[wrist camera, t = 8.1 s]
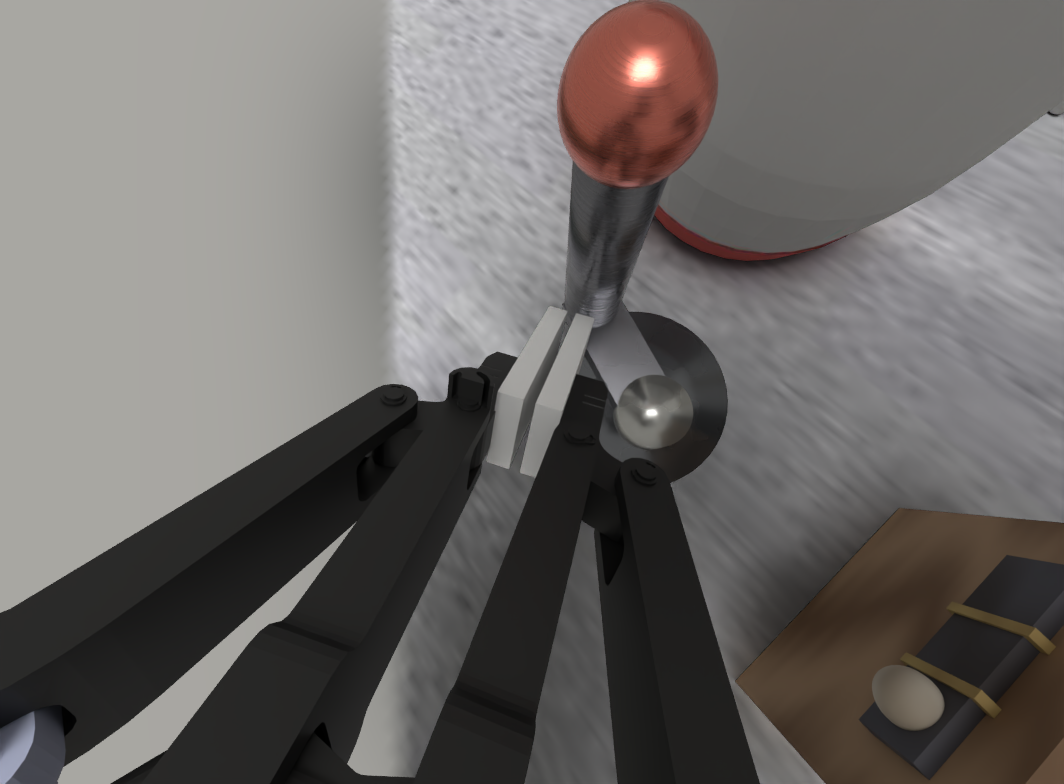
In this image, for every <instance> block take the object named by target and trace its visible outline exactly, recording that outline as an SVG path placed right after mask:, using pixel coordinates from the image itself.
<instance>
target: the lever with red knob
mask: <svg viewBox="0 0 1064 784" xmlns="http://www.w3.org/2000/svg"><path fill="white" fill-rule="evenodd" d="M717 96H718V69H717V62H716V58H715V54H714V51H713V48H712V45H711V43H710V40H709V38H708V36H707V35H706V33H705V32H704V30H703V29H702V27H701V25H700V24H699V23H698V22H697V21H696V20H695V19H694V18H693V17H692V16H691V15H690V14H688V13H687V12H686V11H684V10H683V9H681V8H680V7H678V6H676V5H674V4H671V3H668V2H665V1H660V0H637V1H632V2H628V3H625V4H623V5H620V6H618V7H615V8H613V9H612V10H610V11H608V12H607V13H605V14H604V15H602V16H601V17H600V18H598V19H597V20H596V21H595V22H594V23H593V24H591V25H590V27H589V28H588V29H587V30H586V31H585V32H584V34H583V35H582V36H581V37H580V38H579V40H578V41H577V43H576V44H575V46H574V48H573V49H572V51H571V53H570V55H569V57H568V59H567V62H566V64H565V67H564V69H563V73H562V76H561V80H560V84H559V90H558V99H557V114H558V123H559V129H560V133H561V136H562V139H563V142H564V145H565V147H566V149H567V151H568V153H569V155H570V157H571V158H572V159H573V167H572V183H571V200H570V217H569V233H568V250H567V267H566V284H565V300H564V303H563V304H562V309H563V310H566V311H568V312H567V316H566V320H565V321H566V323H567V325H568V326H569V328H570V326H571V324H572V322H573V319H574V317H575V315H576V313H577V314H581V315H584V316H588V317H591V318H595V319H594V322H593V326H592V329H591V333H590V336H589V340H588V343H587V347H586V350H585V354H584V357H583V361H582V364H581V367H580V371H579V375H582V376H585V377H589V378H592V379H596V380H599V381H602V382H604V383H605V385H606V388H607V390H608V395H607V400H606V405H605V410H604V414H603V419H602V424H601V429H600V434H599V440H600V443H601V445H602V447H603V448H604V449H605V450H606V451H607V452H608V453H609V454H610V455H611V456H613V457H614V458H616V459H618V460H619V461H621V462H624V461H625V460H627V459H629V458H643V459H646V460H649V461H651V462H653V463H655V464H656V465H658V466H659V467H660V468H661V469H662V470H663V471H664V472H665V473H666V475H667V477H668V479H669V482H673V481H675V480H677V479H680V478H682V477H684V476H685V475H687V474H689V473H690V472H692V471H693V470H694V469H696V468H697V467H698V466H699V465H701V464H702V463H703V462H704V460H705V459H706V458H707V457H708V456H709V455H710V454H711V452H712V451H713V449H714V448H715V446H716V445H717V443H718V441H719V439H720V437H721V434H722V431H723V428H724V426H725V421H726V416H727V404H728V399H727V389H726V385H725V380H724V377H723V374H722V371H721V369H720V366H719V364H718V362H717V361H716V359H715V357H714V355H713V354H712V352H711V351H710V350H709V348H708V347H707V346H706V345H705V344H704V343H703V341H702V340H701V339H700V338H699V337H697V336H696V335H695V334H694V333H693V332H692V331H690V330H689V329H687V328H686V327H684V326H683V325H681V324H679V323H677V322H675V321H673V320H671V319H668V318H666V317H663V316H660V315H656V314H651V313H644V312H628V310H627V308H626V307H625V305H624V303H623V302H622V298H623V295H624V292H625V290H626V287H627V285H628V282H629V279H630V277H631V274H632V271H633V269H634V266H635V264H636V261H637V258H638V256H639V253H640V251H641V248H642V245H643V243H644V240H645V238H646V235H647V232H648V230H649V227H650V224H651V222H652V219H653V217H654V214H655V211H656V209H657V206H658V204H659V201H660V198H661V196H662V193H663V191H664V188H665V185H666V183H667V180H668V177H669V176H670V175H671V174H673V173H674V172H675V171H677V170H678V169H679V168H680V167H681V166H682V165H683V164H684V163H685V162H686V161H687V160H689V158H690V157H691V156H692V154H693V153H694V152H695V151H696V149H697V148H698V147H699V145H700V143H701V142H702V140H703V138H704V136H705V134H706V133H707V131H708V128H709V126H710V123H711V120H712V118H713V115H714V111H715V106H716V101H717Z"/></svg>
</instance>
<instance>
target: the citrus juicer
mask: <svg viewBox="0 0 1064 784" xmlns="http://www.w3.org/2000/svg"><path fill="white" fill-rule="evenodd" d="M632 1H637V0H629V2H632ZM660 1H665V2H668V3H671V4H674V5H676V6H678V7H680V8H681V9H683V10H684V11H686V12H687V13H688V14H690V15H691V16H692V17H693V18H694V19H695V20H696V21H697V22H698V23H699V24H700V25H701V27H702V29H703V30H704V32H705V33H706V35H707V36H708V38H709V40H710V43H711V45H712V48H713V51H714V54H715V58H716V62H717V69H718V96H717V101H716V106H715V111H714V115H713V118H712V120H711V123H710V126H709V128H708V131H707V133H706V134H705V136H704V138H703V140H702V142H701V143H700V145H699V147H698V148H697V149H696V151H695V152H694V153H693V154H692V156H691V157H690V158H689V160H687V161H686V162H685V163H684V164H683V165H682V166H681V167H680V168H679V169H678V170H677V171H675V172H674V173H673V174H671V175H670V176H669V177H668V180H667V183H666V185H665V188H664V191H663V193H662V196H661V198H660V201H659V204H658V206H657V209H656V211H655V214H654V215H655V216H656V218H657V219H658V220H659V221H660V222H661V223H662V224H663V226H664V227H665V228H666V229H667V230H669V231H670V232H671V233H673V234H674V235H675V236H677V237H678V238H679V239H680V240H682V241H683V242H685V243H687V244H689V245H691V246H693V247H695V248H697V249H699V250H701V251H703V252H706V253H709V254H712V255H716V256H719V257H722V258H728V259H736V260H744V261H752V260H770V259H775V258H780V257H785V256H789V255H793V254H797V253H802V252H806V251H810V250H813V249H817V248H821V247H823V246H826V245H828V244H830V243H832V242H835V241H837V240H839V239H841V238H843V237H846V236H847V235H849V234H851V233H853V232H856V231H858V230H860V229H863V228H865V227H867V226H869V225H871V224H874V223H876V222H878V221H880V220H883V219H885V218H887V217H889V216H890V215H892V214H894V213H896V212H898V211H900V210H902V209H904V208H906V207H908V206H909V205H911V204H913V203H915V202H917V201H919V200H921V199H923V198H925V197H927V196H928V195H930V194H932V193H933V192H935V191H936V190H938V189H939V188H941V187H942V186H944V185H945V184H947V183H948V182H950V181H951V180H953V179H954V178H956V177H957V176H959V175H960V174H962V173H963V172H965V171H966V170H968V169H969V168H971V167H972V166H974V165H975V164H977V163H978V162H980V161H981V160H983V159H984V158H986V157H987V156H989V155H990V154H991V153H993V152H994V151H995V150H997V149H998V148H1000V147H1001V146H1002V145H1004V144H1005V143H1006V142H1008V141H1009V140H1010V139H1012V138H1013V137H1015V136H1016V135H1017V134H1019V133H1020V132H1021V131H1023V130H1024V129H1025V128H1027V127H1028V126H1030V125H1031V124H1032V123H1034V122H1035V121H1036V120H1038V119H1039V118H1040V117H1042V116H1043V115H1044V114H1046V113H1047V112H1048V111H1050V110H1051V109H1053V108H1054V107H1055V106H1057V105H1058V104H1059V103H1061V102H1062V101H1063V100H1064V0H660Z"/></svg>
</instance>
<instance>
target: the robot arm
mask: <svg viewBox="0 0 1064 784" xmlns="http://www.w3.org/2000/svg"><path fill="white" fill-rule="evenodd" d="M567 312H568V311H566V310H563V309H559V308H555V307H552V306H549V307H548V309H547V311H546V312H545V314H544V316H543V317H542V319H541V321H540V322H539V324H538V326H537V327H536V329H535V331H534V332H533V334H532V336H531V337H530V339H529V340H528V342H527V344H526V345H525V347H524V349H523V350H522V352H521V354H520V355H519V357H518V358H517V357H514V356H510V355H507V354H504V353H500V352H496V353H494V354H492V355H490V356H488V357H487V358H486V359H485V360H484V362H483V363H482V365H481V366H480V367H479V368H478V369H477V368H471V367H467V368H459V369H456V370H454V371H452V372H451V373H450V374H449V384H448V396H447V399H446V400H445V401H443V402H427V401H418V396H417V394H416V392H415V391H414V390H413V389H411V388H410V387H407V386H404V385H399V384H389V385H383V386H381V387H378V388H376V389H374V390H372V391H371V392H369V393H367V394H366V395H364V396H362V397H361V398H359V399H357V400H356V401H354V402H353V403H351V404H349V405H348V406H346V407H344V408H343V409H341V410H339V411H338V412H336V413H334V414H333V415H331V416H329V417H328V418H326V419H324V420H323V421H321V422H319V423H318V424H316V425H314V426H313V427H311V428H309V429H308V430H306V431H304V432H303V433H301V434H299V435H298V436H296V437H295V438H293V439H291V440H290V441H288V442H286V443H285V444H283V445H281V446H280V447H278V448H276V449H275V450H273V451H271V452H270V453H268V454H266V455H265V456H263V457H261V458H260V459H258V460H256V461H255V462H253V463H251V464H250V465H248V466H247V467H245V468H243V469H241V470H240V471H238V472H237V473H235V474H233V475H232V476H230V477H228V478H227V479H225V480H223V481H222V482H220V483H218V484H217V485H215V486H214V487H212V488H210V489H209V490H207V491H205V492H203V493H202V494H200V495H198V496H197V497H195V498H193V499H192V500H190V501H189V502H187V503H185V504H183V505H182V506H180V507H178V508H177V509H175V510H174V511H172V512H170V513H169V514H167V515H165V516H164V517H162V518H160V519H159V520H157V521H155V522H154V523H152V524H150V525H149V526H147V527H145V528H144V529H142V530H140V531H139V532H137V533H135V534H134V535H132V536H131V537H129V538H127V539H125V540H124V541H122V542H121V543H119V544H117V545H116V546H114V547H112V548H111V549H109V550H108V551H106V552H104V553H102V554H101V555H99V556H98V557H96V558H94V559H92V560H91V561H89V562H87V563H86V564H84V565H82V566H81V567H79V568H77V569H76V570H74V571H73V572H71V573H69V574H67V575H66V576H64V577H63V578H61V579H59V580H58V581H56V582H54V583H53V584H51V585H49V586H48V587H46V588H44V589H43V590H41V591H39V592H38V593H36V594H34V595H33V596H31V597H29V598H28V599H26V600H24V601H23V602H21V603H19V604H18V605H16V606H14V607H13V608H11V609H9V610H7V611H4V612H2V613H0V784H58V782H57V780H58V778H59V776H60V774H61V771H62V768H63V767H64V766H66V765H67V764H69V763H70V762H72V761H73V760H75V759H77V758H78V757H79V756H81V755H83V754H84V753H86V752H87V751H89V750H91V749H92V748H93V747H95V746H96V745H97V744H99V743H100V742H102V741H103V740H104V739H106V738H107V737H108V736H110V735H111V734H113V733H114V732H115V731H117V730H118V729H119V728H121V727H122V726H123V725H125V724H126V723H128V722H129V721H130V720H131V719H133V718H134V717H135V716H136V715H137V714H139V713H140V712H141V711H142V710H143V709H145V708H146V707H147V706H148V705H149V704H151V703H152V702H153V701H154V700H155V699H157V698H158V697H159V696H160V695H161V694H162V693H164V692H165V691H166V690H167V689H168V688H169V687H170V686H172V685H173V684H174V683H175V682H176V681H177V680H178V679H179V678H181V677H182V676H183V675H184V674H185V673H186V672H187V671H188V670H190V669H191V668H192V667H193V666H194V665H195V664H196V663H198V662H199V661H200V660H201V659H202V658H203V657H204V656H205V655H206V654H208V653H209V652H210V651H211V650H212V649H213V648H214V647H215V646H217V645H218V644H219V643H220V642H221V641H222V640H223V639H225V638H226V637H227V636H228V635H229V634H230V633H231V632H232V631H234V630H235V629H236V628H237V627H238V626H239V625H240V624H241V623H243V622H244V621H245V620H246V619H247V618H248V617H249V616H250V615H252V614H253V613H254V612H255V611H256V610H257V609H258V608H260V607H261V606H262V605H263V604H264V603H265V602H266V601H267V600H269V599H270V598H271V597H272V596H273V595H274V594H275V593H276V592H278V591H279V590H280V589H281V588H282V587H283V586H284V585H285V584H287V583H288V582H289V581H290V580H291V579H292V578H293V577H294V576H296V575H297V574H298V573H299V572H300V571H301V570H302V569H303V568H305V567H306V566H307V565H308V564H309V563H310V562H311V561H313V560H314V559H315V558H316V557H317V556H318V555H319V554H320V553H321V552H323V551H324V550H325V549H326V548H327V547H328V546H329V545H330V544H332V543H333V542H334V541H335V540H336V539H337V538H338V537H340V536H341V535H342V534H343V533H344V532H345V531H346V530H347V529H349V528H350V527H351V526H352V525H353V524H354V523H355V522H356V521H357V522H356V524H355V525H354V526H353V528H352V529H351V531H350V532H349V533H348V535H347V536H346V537H345V539H344V540H343V542H342V543H341V544H340V546H339V547H338V548H337V550H336V551H335V553H334V554H333V555H332V557H331V558H330V559H329V561H328V562H327V564H326V565H325V566H324V568H323V569H322V570H321V572H320V573H319V575H318V576H317V577H316V579H315V580H314V581H313V583H312V584H311V586H310V587H309V588H308V590H307V591H306V592H305V594H304V595H303V597H302V598H301V599H300V601H299V602H298V603H297V605H296V606H295V608H294V609H293V610H292V611H291V613H290V614H289V615H288V616H287V617H286V618H285V619H284V620H282V621H280V622H276V623H272V624H269V625H267V626H266V627H265V628H264V629H262V630H261V631H260V632H259V633H258V634H257V635H256V636H255V637H254V638H253V640H252V641H251V642H250V643H249V644H248V645H247V647H246V648H245V649H244V650H243V652H242V653H241V654H240V656H239V657H238V658H237V660H236V661H235V662H234V663H233V665H232V666H231V668H230V669H229V670H228V671H227V673H226V674H225V675H224V677H223V678H222V679H221V680H220V682H219V683H218V684H217V686H216V687H215V688H214V690H213V691H212V692H211V694H210V695H209V696H208V697H207V699H206V700H205V701H204V703H203V704H202V705H201V707H200V708H199V709H198V711H197V712H196V713H195V714H194V716H193V717H192V718H191V720H190V721H189V722H188V724H187V725H186V726H185V728H184V729H183V730H182V732H181V733H180V734H179V735H178V737H177V738H176V739H175V741H174V742H173V743H172V745H171V746H170V747H169V748H168V750H167V751H165V752H163V753H161V754H160V755H158V756H156V757H155V758H153V759H151V760H150V761H148V762H146V763H144V764H143V765H141V766H140V767H138V768H136V769H134V770H133V771H131V772H129V773H128V774H126V775H124V776H123V777H121V778H119V779H118V780H116V781H114V782H113V783H111V784H524V781H525V777H526V772H527V768H528V764H529V759H530V755H531V750H532V745H533V740H534V734H535V728H536V722H535V720H536V713H537V709H538V704H539V700H540V696H541V691H542V687H543V683H544V678H545V674H546V670H547V666H548V661H549V657H550V653H551V649H552V644H553V640H554V636H555V631H556V627H557V623H558V619H559V614H560V610H561V606H562V602H563V597H564V593H565V589H566V584H567V580H568V576H569V572H570V567H571V563H572V559H573V555H574V550H575V546H576V542H577V537H578V533H579V529H580V525H581V520H582V521H584V522H585V523H587V524H588V525H590V526H591V527H593V528H594V529H595V531H594V538H595V548H596V559H597V570H598V580H599V591H600V601H601V612H602V623H603V633H604V644H605V654H606V665H607V676H608V686H609V697H610V708H611V718H612V729H613V739H614V750H615V761H616V771H617V782H618V784H760V783H759V779H758V776H757V773H756V769H755V766H754V763H753V759H752V756H751V753H750V749H749V746H748V743H747V739H746V736H745V732H744V729H743V726H742V722H741V719H740V716H739V712H738V709H737V706H736V702H735V699H734V696H733V692H732V689H731V686H730V682H729V679H728V676H727V672H726V669H725V666H724V662H723V659H722V656H721V652H720V649H719V646H718V642H717V639H716V636H715V632H714V629H713V626H712V622H711V619H710V616H709V612H708V609H707V605H706V602H705V599H704V595H703V592H702V589H701V585H700V582H699V579H698V575H697V572H696V569H695V565H694V562H693V559H692V555H691V552H690V549H689V545H688V542H687V539H686V535H685V532H684V529H683V525H682V522H681V519H680V515H679V512H678V509H677V505H676V502H675V499H674V495H673V492H672V489H671V485H670V482H669V479H668V477H667V475H666V473H665V472H664V471H663V470H662V469H661V468H660V467H659V466H658V465H656V464H655V463H653V462H651V461H649V460H646V459H643V458H629V459H627V460H625V461H624V462H621V461H619V460H618V459H616V458H614V457H613V456H611V455H610V454H609V453H608V452H607V451H606V450H605V449H604V448H603V447H602V445H601V443H600V440H599V434H600V429H601V424H602V419H603V414H604V410H605V405H606V400H607V395H608V390H607V388H606V385H605V383H604V382H602V381H599V380H596V379H592V378H589V377H585V376H582V375H579V371H580V367H581V364H582V361H583V357H584V354H585V350H586V347H587V343H588V340H589V336H590V333H591V329H592V326H593V322H594V319H595V318H591V317H588V316H584V315H581V314H577V313H576V315H575V317H574V319H573V322H572V324H571V326H570V328H569V330H568V333H567V335H566V337H565V339H564V342H563V344H562V346H561V348H560V350H559V353H558V355H557V352H558V348H559V344H560V340H561V336H562V332H563V328H564V324H565V320H566V316H567ZM556 356H557V357H556ZM532 416H533V417H532ZM531 418H532V422H531V426H530V430H529V435H528V439H527V443H526V448H525V452H524V456H523V460H522V465H521V469H520V473H522V474H525V475H528V476H531V477H534V478H535V481H534V483H533V486H532V488H531V491H530V494H529V496H528V499H527V501H526V504H525V506H524V509H523V512H522V514H521V517H520V519H519V522H518V524H517V527H516V529H515V532H514V535H513V537H512V540H511V542H510V545H509V547H508V550H507V553H506V555H505V558H504V560H503V563H502V565H501V568H500V571H499V573H498V576H497V578H496V581H495V583H494V586H493V589H492V591H491V594H490V596H489V599H488V601H487V604H486V607H485V609H484V612H483V614H482V617H481V619H480V622H479V625H478V627H477V630H476V632H475V635H474V637H473V640H472V643H471V645H470V648H469V650H468V653H467V655H466V658H465V661H464V663H463V666H462V668H461V671H460V673H459V676H458V678H457V681H456V683H455V685H454V687H453V688H452V690H451V691H450V693H449V695H448V697H447V699H446V702H445V704H444V706H443V709H442V711H441V714H440V716H439V718H438V721H437V723H436V726H435V729H434V731H433V734H432V736H431V739H430V741H429V744H428V746H427V749H426V751H425V754H424V756H423V759H422V761H421V764H420V767H419V769H418V772H417V774H416V777H415V778H409V777H388V776H367V775H360V774H358V773H356V772H355V771H354V770H353V769H351V768H350V767H349V766H348V765H347V763H348V761H349V758H350V756H351V754H352V752H353V749H354V747H355V745H356V742H357V739H358V737H359V734H360V731H361V727H362V724H363V720H364V717H365V714H366V711H367V708H368V706H369V704H370V702H371V699H372V697H373V695H374V693H375V691H376V689H377V687H378V685H379V683H380V681H381V679H382V676H383V674H384V672H385V670H386V668H387V666H388V664H389V662H390V660H391V658H392V656H393V654H394V652H395V650H396V647H397V645H398V643H399V641H400V639H401V637H402V635H403V633H404V631H405V629H406V627H407V625H408V623H409V620H410V618H411V616H412V614H413V612H414V610H415V608H416V606H417V604H418V602H419V600H420V598H421V596H422V594H423V591H424V589H425V587H426V585H427V583H428V581H429V579H430V577H431V575H432V573H433V571H434V569H435V567H436V564H437V562H438V560H439V558H440V556H441V554H442V552H443V550H444V548H445V546H446V544H447V542H448V540H449V538H450V535H451V533H452V531H453V529H454V527H455V525H456V523H457V521H458V519H459V517H460V515H461V513H462V511H463V508H464V506H465V504H466V502H467V500H468V498H469V496H470V494H471V492H472V490H473V488H474V486H475V484H476V481H477V479H478V477H479V475H480V473H481V467H482V461H483V459H484V457H485V456H486V454H487V459H486V462H488V463H491V464H494V465H497V466H500V467H503V468H507V469H509V468H510V466H511V464H512V461H513V459H514V457H515V455H516V452H517V450H518V448H519V445H520V443H521V441H522V439H523V436H524V434H525V432H526V430H527V427H528V425H529V423H530V420H531ZM487 452H488V453H487Z"/></svg>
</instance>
